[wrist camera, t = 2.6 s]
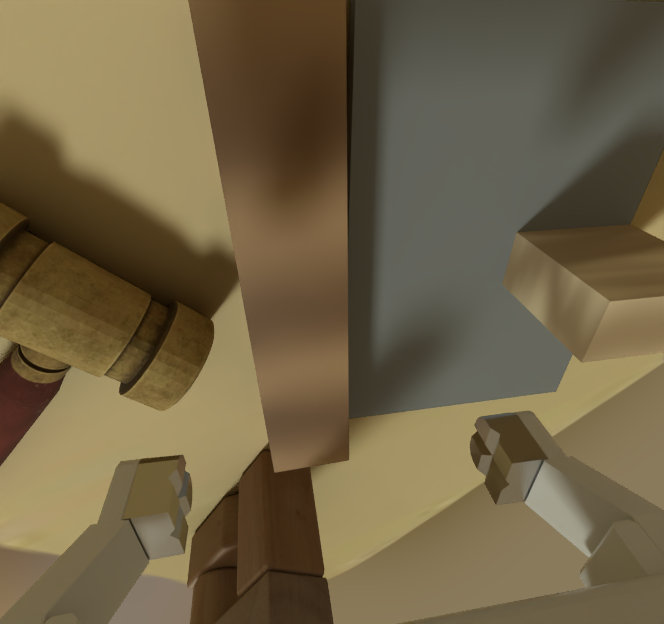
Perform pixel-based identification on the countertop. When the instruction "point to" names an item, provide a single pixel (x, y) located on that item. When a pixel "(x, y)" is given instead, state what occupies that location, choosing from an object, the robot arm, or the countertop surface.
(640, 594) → the robot arm
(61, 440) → the countertop surface
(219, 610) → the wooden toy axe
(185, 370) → the gavel
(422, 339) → the slate mat
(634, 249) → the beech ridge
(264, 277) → the walnut bar
